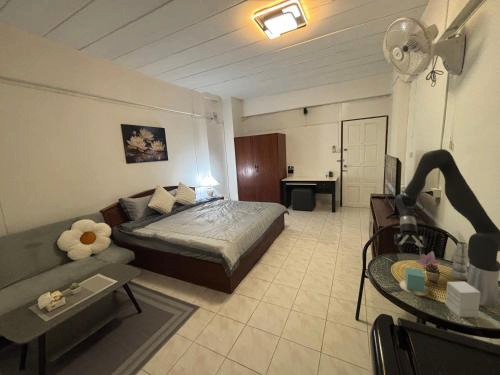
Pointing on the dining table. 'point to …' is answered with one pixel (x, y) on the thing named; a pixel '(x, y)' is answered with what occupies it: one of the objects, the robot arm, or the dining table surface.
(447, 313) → the dining table surface
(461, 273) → the plastic bottle
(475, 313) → the supplement box
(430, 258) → the lily
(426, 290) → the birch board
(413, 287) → the teal block
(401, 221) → the robot arm
